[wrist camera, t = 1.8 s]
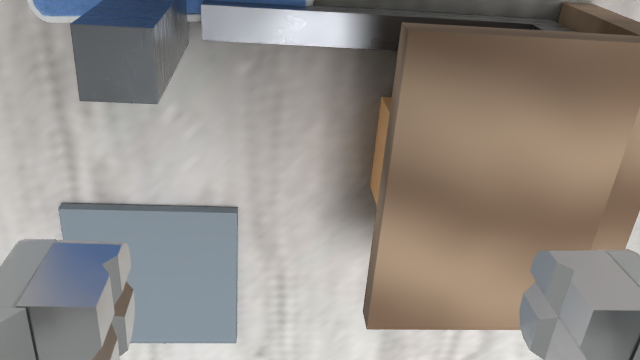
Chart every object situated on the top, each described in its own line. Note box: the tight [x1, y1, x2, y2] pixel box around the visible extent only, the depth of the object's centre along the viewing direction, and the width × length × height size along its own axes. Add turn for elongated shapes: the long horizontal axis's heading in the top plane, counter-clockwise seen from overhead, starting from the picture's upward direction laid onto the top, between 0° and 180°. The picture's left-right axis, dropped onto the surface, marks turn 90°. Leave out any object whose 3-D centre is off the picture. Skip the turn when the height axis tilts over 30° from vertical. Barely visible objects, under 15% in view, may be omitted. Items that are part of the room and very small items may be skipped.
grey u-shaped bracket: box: [70, 0, 575, 104], centre depth 25 cm, size 12×19×8 cm, turn 86°
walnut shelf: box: [363, 2, 640, 330], centre depth 26 cm, size 13×10×8 cm
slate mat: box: [58, 203, 238, 343], centre depth 32 cm, size 9×9×1 cm
